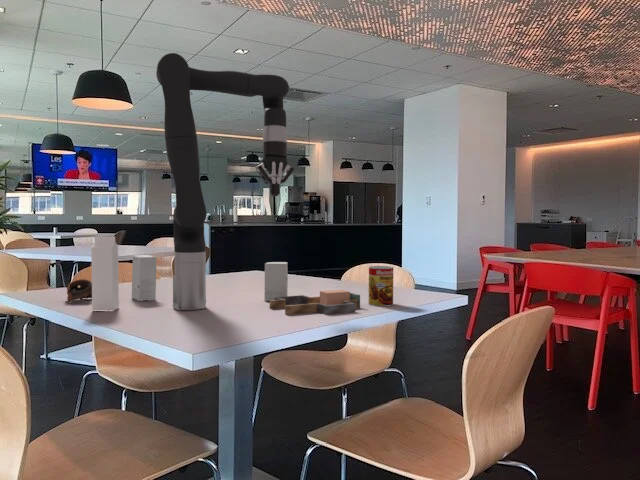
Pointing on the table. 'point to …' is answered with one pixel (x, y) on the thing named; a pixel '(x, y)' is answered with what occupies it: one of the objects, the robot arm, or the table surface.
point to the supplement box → (276, 280)
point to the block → (334, 297)
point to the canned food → (380, 285)
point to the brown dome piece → (79, 290)
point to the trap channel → (314, 305)
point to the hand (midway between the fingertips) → (274, 196)
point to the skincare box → (144, 277)
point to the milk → (105, 273)
